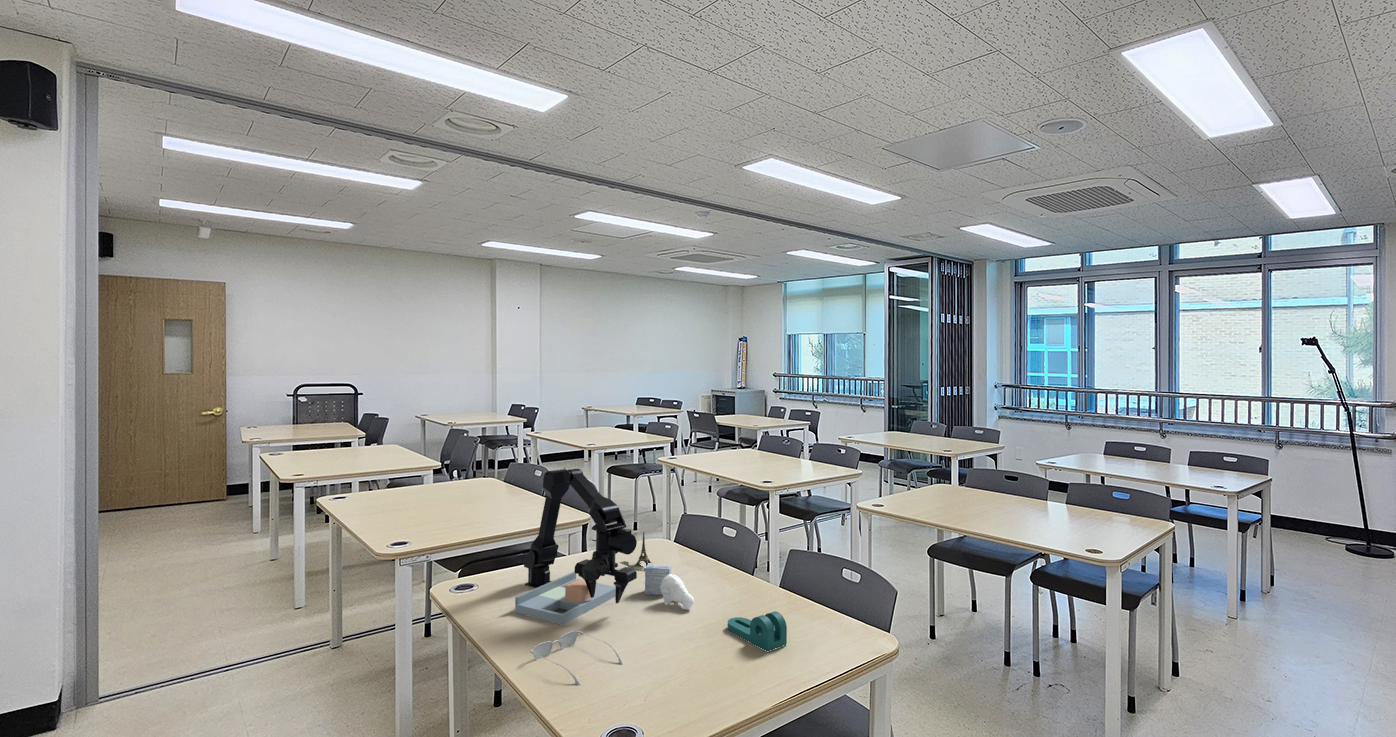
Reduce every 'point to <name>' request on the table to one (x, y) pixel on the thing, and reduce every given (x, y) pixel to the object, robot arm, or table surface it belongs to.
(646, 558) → the eiffel tower figurine
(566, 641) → the eyeglasses
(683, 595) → the white animal figurine
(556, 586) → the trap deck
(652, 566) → the medicine box
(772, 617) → the bracket
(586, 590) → the block
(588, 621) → the table surface
